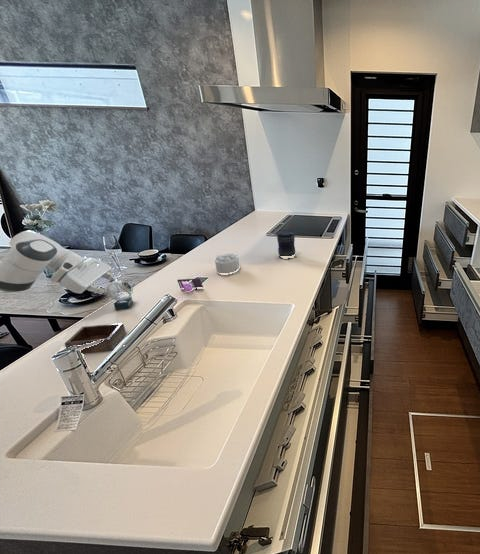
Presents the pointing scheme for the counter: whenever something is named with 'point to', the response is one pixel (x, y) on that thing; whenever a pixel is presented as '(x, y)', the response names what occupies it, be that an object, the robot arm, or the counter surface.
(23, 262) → the robot arm
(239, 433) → the counter surface
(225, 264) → the lumpy-topped squat cylinder
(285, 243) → the storage jar
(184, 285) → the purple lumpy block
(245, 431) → the counter surface
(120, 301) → the watch
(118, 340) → the box
